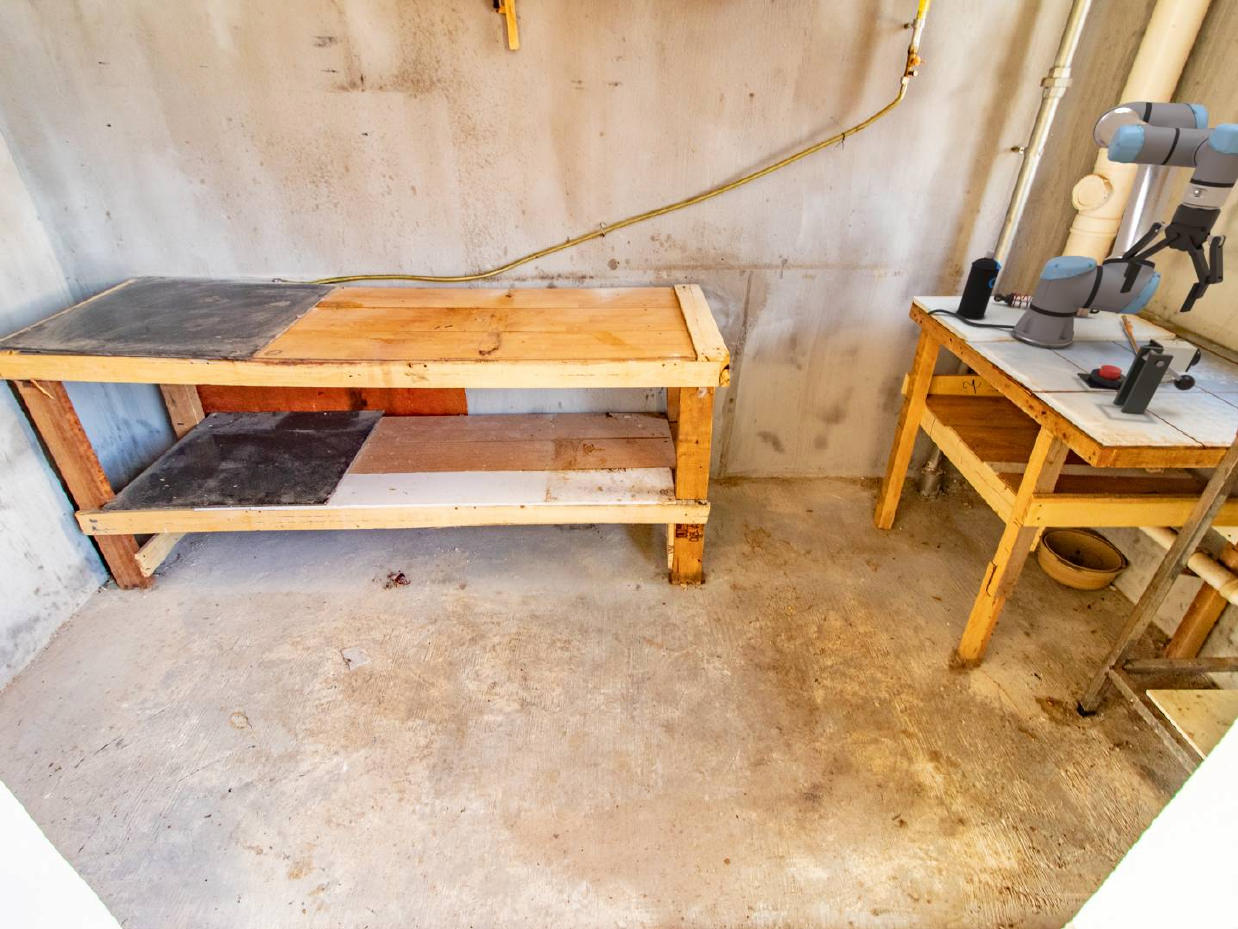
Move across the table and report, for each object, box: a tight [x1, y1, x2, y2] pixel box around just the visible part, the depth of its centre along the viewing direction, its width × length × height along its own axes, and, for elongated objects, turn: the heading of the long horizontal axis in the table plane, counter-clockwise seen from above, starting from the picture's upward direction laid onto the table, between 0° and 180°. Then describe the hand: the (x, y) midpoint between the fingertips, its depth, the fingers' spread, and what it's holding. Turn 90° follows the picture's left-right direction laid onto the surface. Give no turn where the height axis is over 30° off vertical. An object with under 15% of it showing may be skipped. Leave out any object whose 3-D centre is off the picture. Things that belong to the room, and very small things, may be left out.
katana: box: [1121, 314, 1140, 356], centre depth 189 cm, size 1×35×3 cm, turn 155°
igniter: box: [1098, 364, 1123, 379], centre depth 162 cm, size 4×4×2 cm
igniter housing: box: [1076, 367, 1126, 392], centre depth 163 cm, size 10×8×4 cm
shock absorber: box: [993, 292, 1101, 318], centre depth 209 cm, size 5×5×30 cm
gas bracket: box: [1112, 345, 1174, 416], centre depth 149 cm, size 9×7×16 cm
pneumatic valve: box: [1143, 338, 1202, 383], centre depth 164 cm, size 6×12×12 cm, turn 82°
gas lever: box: [1142, 349, 1196, 392], centre depth 146 cm, size 13×4×4 cm, turn 81°
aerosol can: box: [955, 249, 1002, 321], centre depth 201 cm, size 8×8×20 cm
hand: (1153, 301), depth 151 cm, fingers open, 13 cm apart
